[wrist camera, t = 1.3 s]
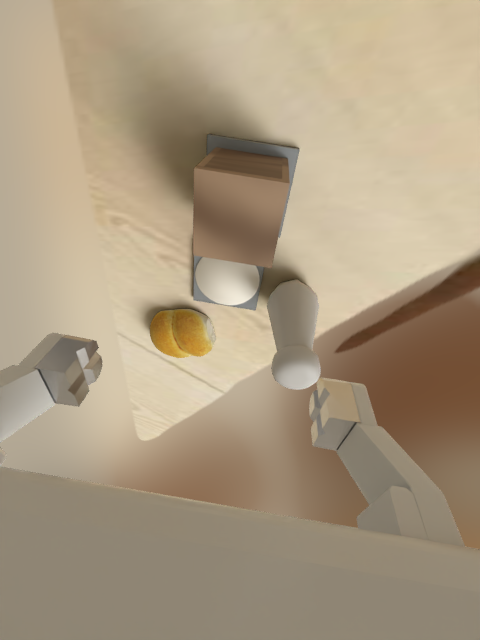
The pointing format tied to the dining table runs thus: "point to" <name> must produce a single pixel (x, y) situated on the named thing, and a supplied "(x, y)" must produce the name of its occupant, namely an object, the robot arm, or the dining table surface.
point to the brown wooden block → (239, 206)
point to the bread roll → (182, 333)
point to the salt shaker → (294, 334)
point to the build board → (227, 282)
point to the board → (257, 148)
